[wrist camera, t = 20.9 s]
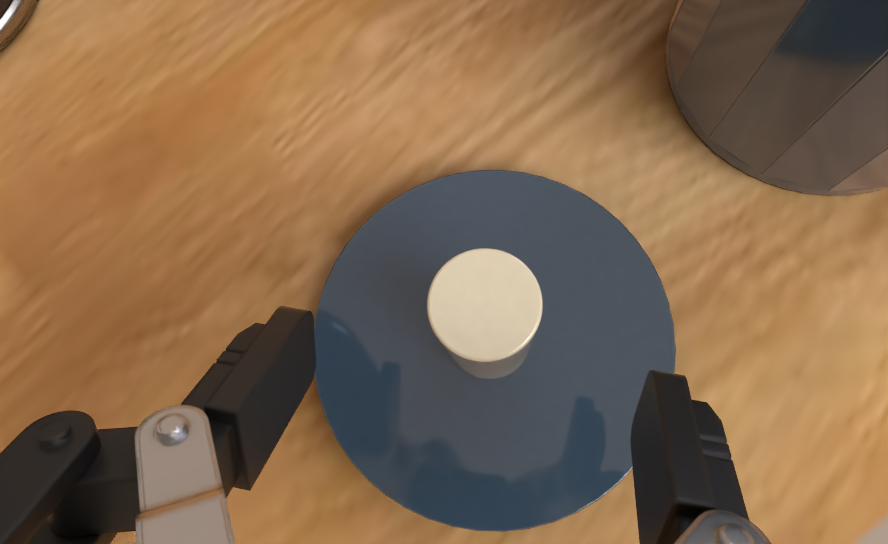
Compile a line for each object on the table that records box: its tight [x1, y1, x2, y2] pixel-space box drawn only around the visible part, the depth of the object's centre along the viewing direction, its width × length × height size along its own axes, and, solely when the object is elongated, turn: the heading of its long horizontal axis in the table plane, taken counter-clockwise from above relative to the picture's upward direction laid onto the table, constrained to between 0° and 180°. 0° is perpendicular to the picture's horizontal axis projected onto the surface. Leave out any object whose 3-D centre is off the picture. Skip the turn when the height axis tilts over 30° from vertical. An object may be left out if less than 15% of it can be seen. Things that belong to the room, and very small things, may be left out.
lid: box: [314, 170, 676, 532], centre depth 18 cm, size 12×12×7 cm
